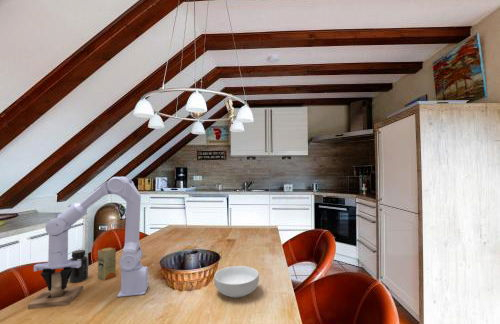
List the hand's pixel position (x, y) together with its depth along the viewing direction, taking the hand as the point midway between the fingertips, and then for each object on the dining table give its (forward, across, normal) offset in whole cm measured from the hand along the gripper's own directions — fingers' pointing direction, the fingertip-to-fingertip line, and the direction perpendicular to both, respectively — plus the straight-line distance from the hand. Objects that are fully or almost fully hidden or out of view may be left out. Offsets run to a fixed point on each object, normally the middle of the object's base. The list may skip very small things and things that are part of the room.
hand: (57, 289), depth 94 cm
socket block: (+3, 0, 0) cm, 3 cm away
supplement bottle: (+4, 0, -17) cm, 17 cm away
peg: (+2, 0, 0) cm, 3 cm away
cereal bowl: (+4, -64, +10) cm, 65 cm away
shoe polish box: (+4, -11, -17) cm, 21 cm away
